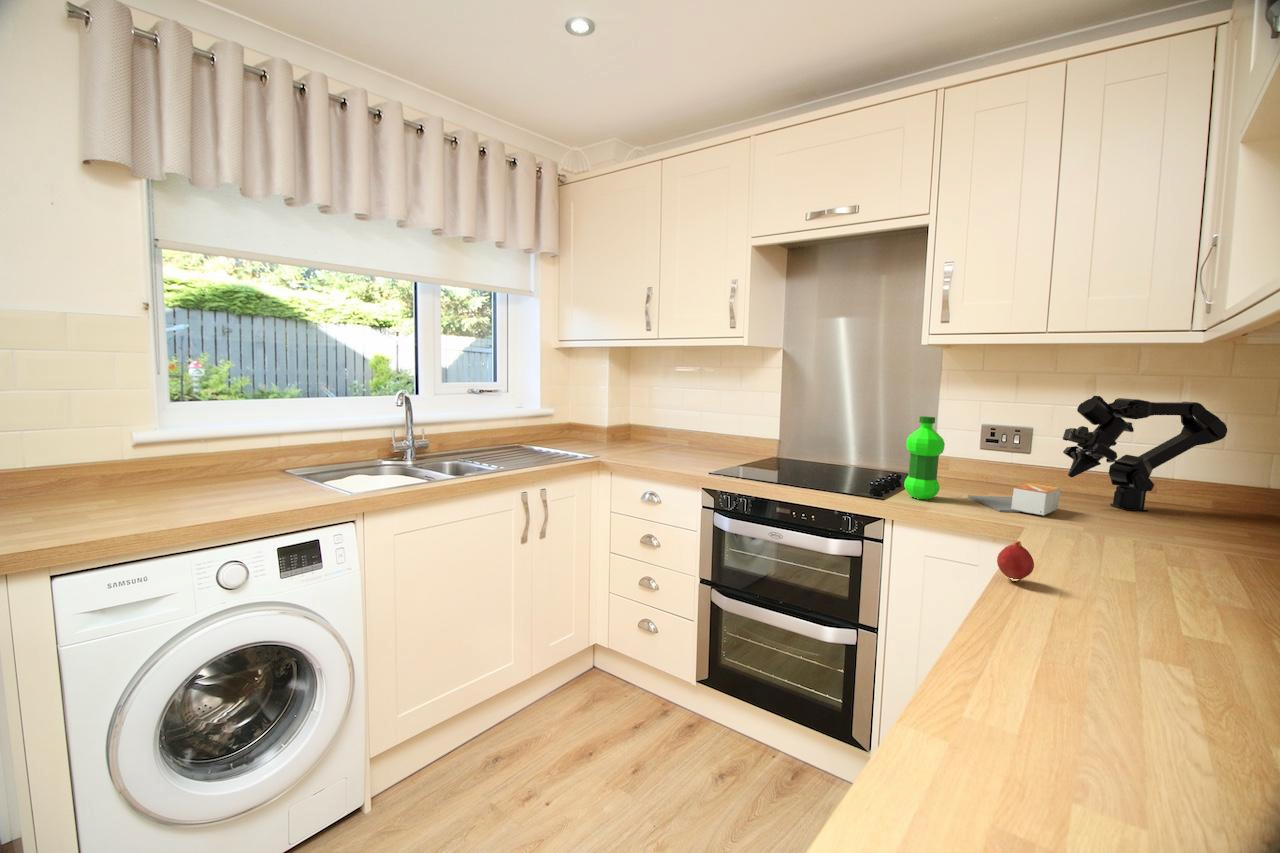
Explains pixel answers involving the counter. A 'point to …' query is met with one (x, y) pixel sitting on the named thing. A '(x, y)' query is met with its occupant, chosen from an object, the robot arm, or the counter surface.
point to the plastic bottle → (924, 460)
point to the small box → (1035, 498)
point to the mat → (996, 502)
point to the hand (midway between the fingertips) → (1069, 476)
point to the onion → (1015, 561)
